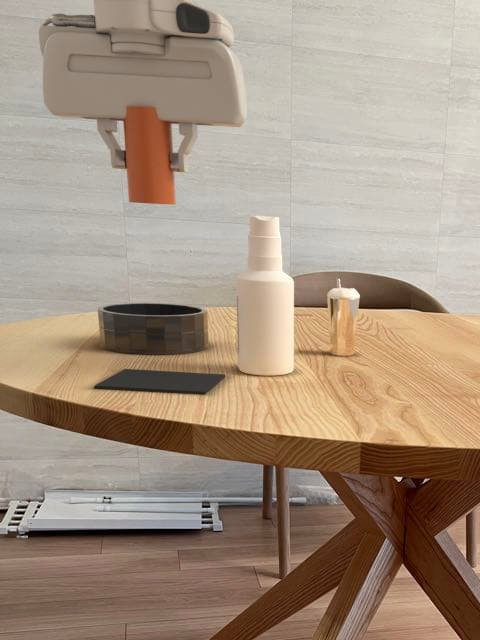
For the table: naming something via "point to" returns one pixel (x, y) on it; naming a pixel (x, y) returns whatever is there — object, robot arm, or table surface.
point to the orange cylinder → (148, 156)
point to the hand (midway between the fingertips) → (150, 170)
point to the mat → (161, 381)
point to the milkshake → (342, 319)
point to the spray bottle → (265, 304)
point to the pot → (153, 328)
